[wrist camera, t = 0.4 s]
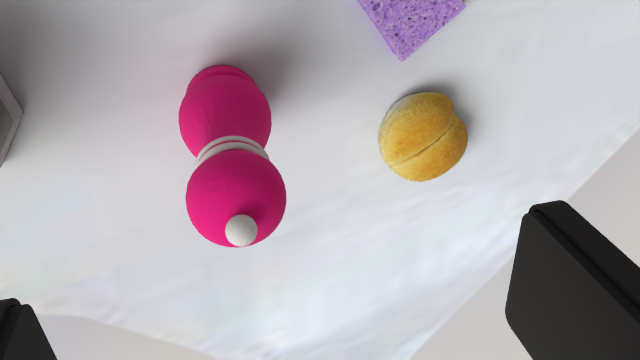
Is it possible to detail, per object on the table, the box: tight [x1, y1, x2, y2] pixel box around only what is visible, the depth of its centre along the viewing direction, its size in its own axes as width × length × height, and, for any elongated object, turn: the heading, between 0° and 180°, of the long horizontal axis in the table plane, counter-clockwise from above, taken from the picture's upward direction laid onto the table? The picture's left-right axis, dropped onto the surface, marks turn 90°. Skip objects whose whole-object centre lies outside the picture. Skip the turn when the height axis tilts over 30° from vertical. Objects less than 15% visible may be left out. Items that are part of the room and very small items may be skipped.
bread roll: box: [378, 92, 468, 182], centre depth 49 cm, size 8×9×4 cm
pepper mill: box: [179, 65, 286, 247], centre depth 36 cm, size 7×7×20 cm
